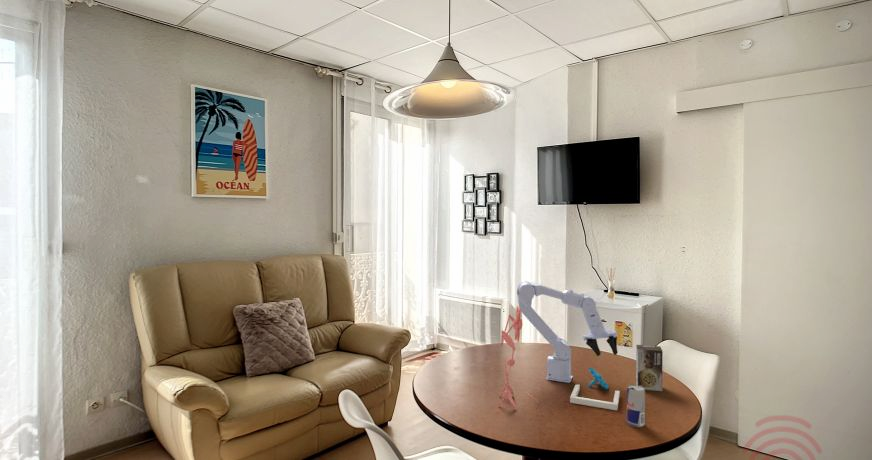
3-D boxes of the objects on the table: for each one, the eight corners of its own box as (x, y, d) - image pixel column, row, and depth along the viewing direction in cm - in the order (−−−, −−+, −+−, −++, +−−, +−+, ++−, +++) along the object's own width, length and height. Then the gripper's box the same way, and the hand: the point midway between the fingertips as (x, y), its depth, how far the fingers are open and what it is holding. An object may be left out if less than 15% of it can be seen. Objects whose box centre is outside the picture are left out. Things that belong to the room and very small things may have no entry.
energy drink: (623, 420, 152) (624, 384, 151) (639, 420, 152) (639, 384, 152) (631, 428, 146) (632, 391, 146) (647, 427, 147) (648, 390, 146)
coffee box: (660, 386, 183) (661, 346, 182) (662, 391, 176) (663, 350, 176) (635, 383, 186) (636, 343, 185) (636, 388, 179) (637, 348, 179)
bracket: (570, 402, 166) (570, 397, 166) (575, 389, 179) (575, 384, 179) (617, 410, 159) (617, 404, 159) (619, 396, 172) (619, 391, 172)
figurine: (495, 416, 154) (499, 313, 153) (497, 388, 179) (500, 300, 178) (542, 421, 152) (546, 316, 150) (537, 391, 177) (540, 302, 176)
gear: (609, 389, 174) (590, 368, 178) (597, 399, 175) (579, 377, 179) (610, 383, 184) (592, 363, 188) (599, 393, 186) (581, 372, 189)
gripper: (615, 317, 186) (627, 348, 186) (583, 322, 196) (595, 351, 196) (608, 324, 181) (621, 356, 181) (576, 328, 191) (588, 358, 191)
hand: (607, 354), depth 188 cm, fingers open, 7 cm apart
